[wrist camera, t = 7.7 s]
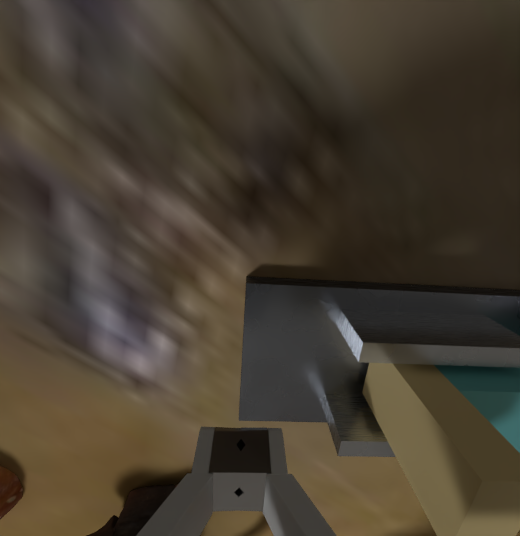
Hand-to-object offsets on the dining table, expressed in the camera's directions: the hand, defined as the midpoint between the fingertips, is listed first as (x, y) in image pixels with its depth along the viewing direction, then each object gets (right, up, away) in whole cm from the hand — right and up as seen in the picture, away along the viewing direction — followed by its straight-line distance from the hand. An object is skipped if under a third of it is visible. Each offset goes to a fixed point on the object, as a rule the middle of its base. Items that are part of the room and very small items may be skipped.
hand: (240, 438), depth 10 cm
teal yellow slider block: (+14, 0, +5) cm, 15 cm away
